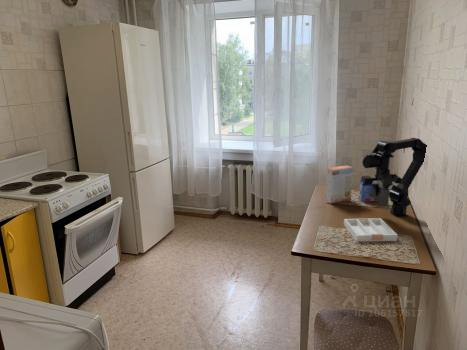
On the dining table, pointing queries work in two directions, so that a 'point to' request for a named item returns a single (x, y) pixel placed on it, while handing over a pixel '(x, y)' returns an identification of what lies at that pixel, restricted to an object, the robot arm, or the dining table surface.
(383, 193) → the panel
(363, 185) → the ink cartridge box
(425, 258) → the dining table surface
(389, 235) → the slot rack
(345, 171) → the cracker box
